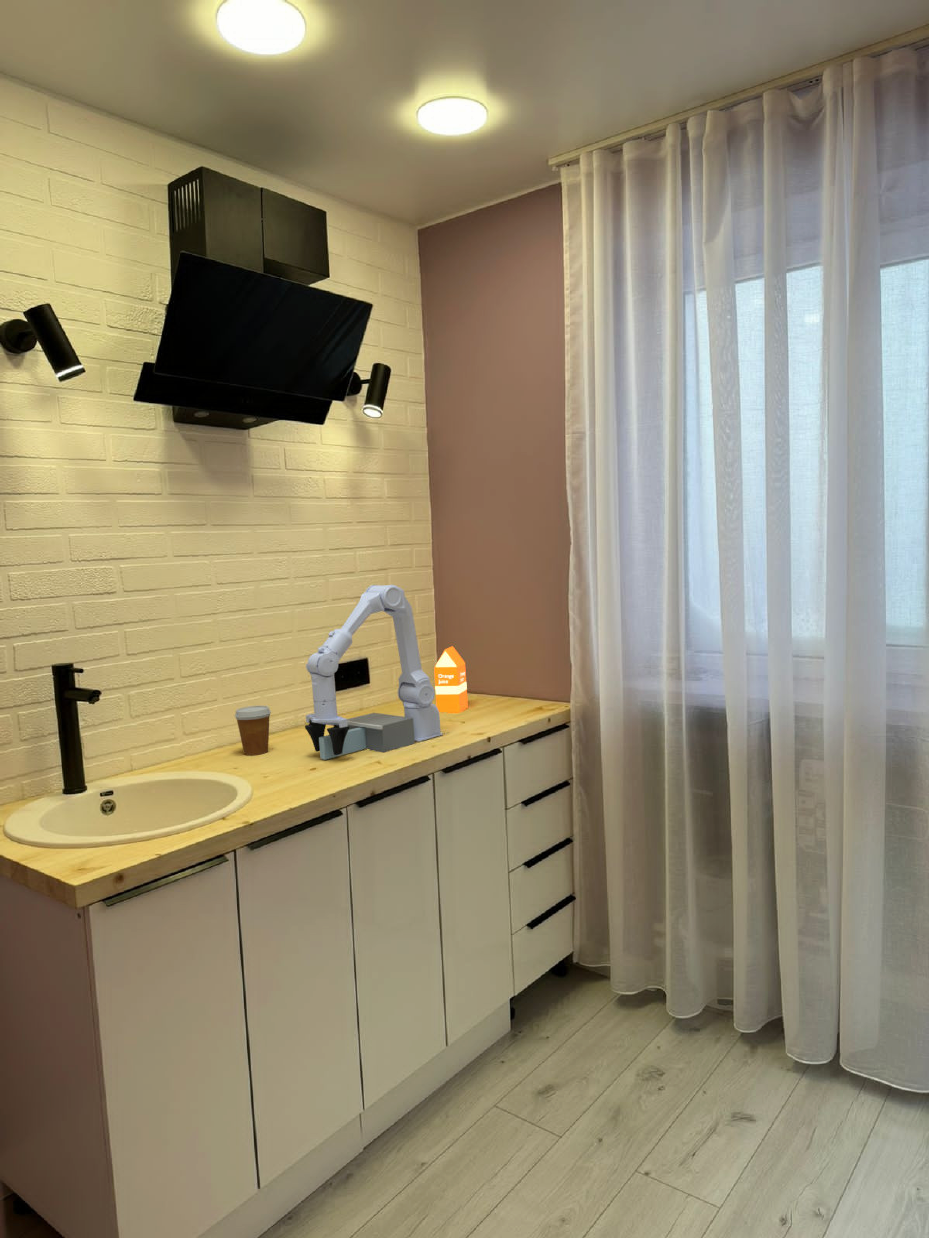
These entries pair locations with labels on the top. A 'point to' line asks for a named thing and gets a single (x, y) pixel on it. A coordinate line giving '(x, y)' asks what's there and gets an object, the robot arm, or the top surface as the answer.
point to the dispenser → (385, 731)
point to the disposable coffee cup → (254, 729)
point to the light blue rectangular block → (351, 744)
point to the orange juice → (451, 682)
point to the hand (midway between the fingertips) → (328, 752)
